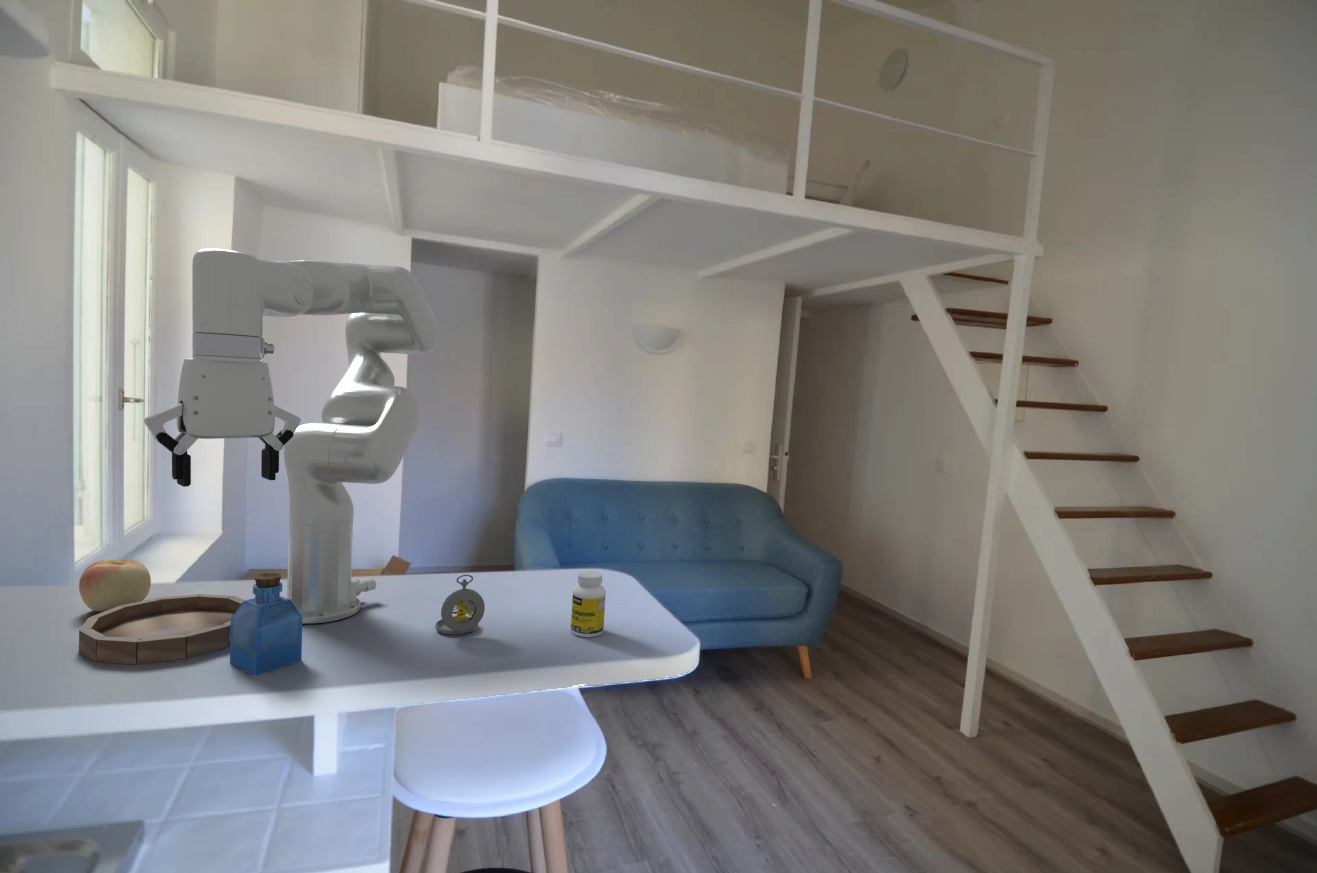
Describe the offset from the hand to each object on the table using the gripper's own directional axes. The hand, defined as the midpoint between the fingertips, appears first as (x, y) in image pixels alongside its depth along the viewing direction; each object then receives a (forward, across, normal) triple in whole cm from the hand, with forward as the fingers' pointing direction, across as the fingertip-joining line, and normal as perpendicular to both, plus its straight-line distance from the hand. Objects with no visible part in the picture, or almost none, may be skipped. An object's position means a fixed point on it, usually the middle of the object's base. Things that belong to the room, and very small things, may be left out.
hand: (227, 481), depth 86 cm
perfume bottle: (+25, -4, +2) cm, 26 cm away
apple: (+26, +5, -34) cm, 43 cm away
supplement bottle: (+26, -45, +22) cm, 56 cm away
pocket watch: (+26, -30, +8) cm, 40 cm away
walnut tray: (+25, +2, -16) cm, 30 cm away
